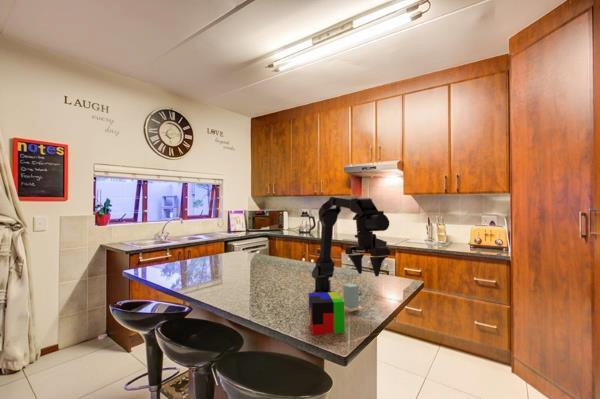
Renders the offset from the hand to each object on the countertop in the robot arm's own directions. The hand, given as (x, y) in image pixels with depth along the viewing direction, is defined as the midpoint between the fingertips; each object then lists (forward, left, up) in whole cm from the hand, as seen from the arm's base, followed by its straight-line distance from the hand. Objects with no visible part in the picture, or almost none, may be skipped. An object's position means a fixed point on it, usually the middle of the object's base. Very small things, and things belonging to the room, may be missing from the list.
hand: (368, 274), depth 103 cm
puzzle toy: (-13, -14, -15) cm, 24 cm away
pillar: (-7, +4, -14) cm, 16 cm away
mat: (-10, +7, -15) cm, 19 cm away
